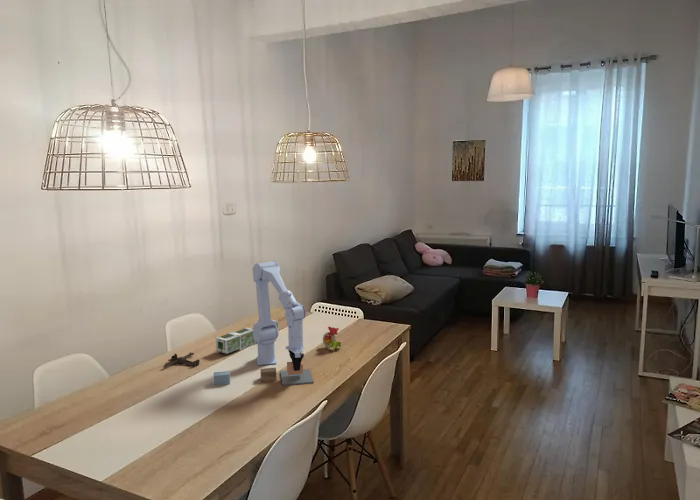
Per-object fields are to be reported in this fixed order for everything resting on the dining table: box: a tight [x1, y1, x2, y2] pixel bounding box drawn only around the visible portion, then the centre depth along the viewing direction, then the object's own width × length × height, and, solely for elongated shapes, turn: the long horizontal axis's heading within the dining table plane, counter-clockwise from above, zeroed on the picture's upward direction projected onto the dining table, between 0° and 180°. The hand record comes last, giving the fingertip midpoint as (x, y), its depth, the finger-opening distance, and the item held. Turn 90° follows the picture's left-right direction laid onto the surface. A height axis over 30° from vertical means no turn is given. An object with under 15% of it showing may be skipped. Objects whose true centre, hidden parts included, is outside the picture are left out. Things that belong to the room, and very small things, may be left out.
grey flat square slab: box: [279, 368, 314, 386], centre depth 208 cm, size 13×12×1 cm
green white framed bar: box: [215, 319, 280, 354], centre depth 248 cm, size 35×8×7 cm, turn 147°
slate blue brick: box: [213, 370, 231, 386], centre depth 203 cm, size 4×6×4 cm, turn 101°
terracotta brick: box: [286, 361, 304, 375], centre depth 208 cm, size 4×6×4 cm, turn 102°
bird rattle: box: [322, 326, 342, 351], centre depth 241 cm, size 6×11×9 cm
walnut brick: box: [260, 367, 278, 382], centre depth 207 cm, size 4×6×4 cm, turn 102°
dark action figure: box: [162, 351, 200, 369], centre depth 223 cm, size 18×4×14 cm
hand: (296, 368), depth 208 cm, fingers closed on terracotta brick, 3 cm apart
